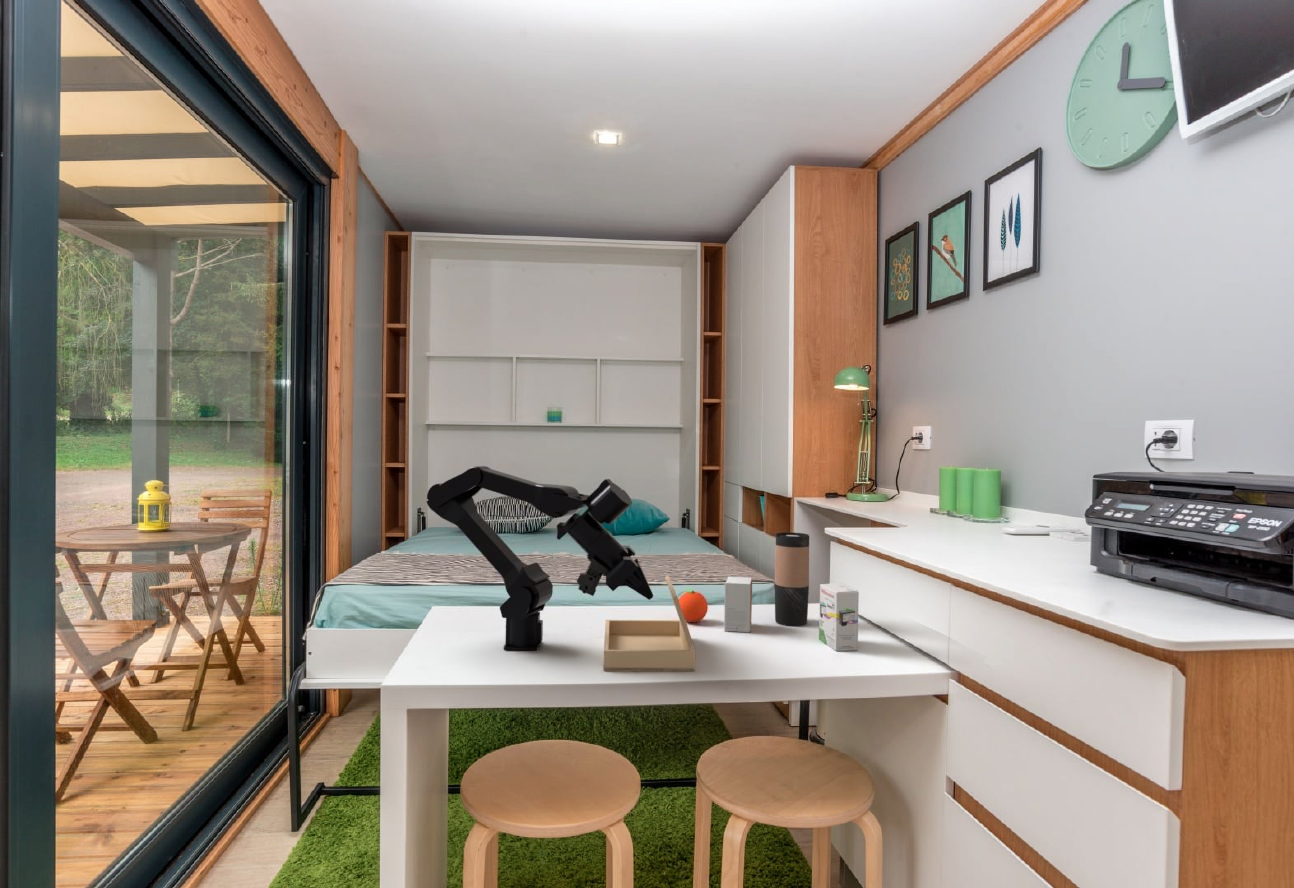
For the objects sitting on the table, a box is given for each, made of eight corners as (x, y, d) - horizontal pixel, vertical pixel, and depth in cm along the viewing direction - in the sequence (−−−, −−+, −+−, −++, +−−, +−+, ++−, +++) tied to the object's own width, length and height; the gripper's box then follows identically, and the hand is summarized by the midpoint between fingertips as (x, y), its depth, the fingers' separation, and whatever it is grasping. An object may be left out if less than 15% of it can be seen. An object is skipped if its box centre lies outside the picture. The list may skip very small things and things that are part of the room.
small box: (750, 633, 149) (750, 583, 149) (723, 631, 150) (724, 582, 150) (751, 624, 157) (752, 577, 157) (726, 622, 158) (727, 575, 158)
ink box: (817, 639, 145) (818, 582, 145) (840, 638, 146) (841, 582, 146) (835, 651, 137) (836, 591, 137) (859, 650, 137) (860, 590, 137)
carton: (603, 670, 122) (603, 650, 122) (605, 636, 144) (605, 619, 144) (694, 671, 123) (694, 651, 123) (682, 637, 145) (682, 620, 145)
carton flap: (689, 645, 124) (672, 597, 124) (679, 618, 144) (664, 576, 144) (693, 643, 124) (676, 595, 124) (682, 616, 144) (668, 575, 144)
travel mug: (812, 621, 160) (814, 534, 160) (801, 628, 154) (803, 537, 154) (781, 616, 164) (782, 531, 164) (768, 623, 158) (770, 534, 158)
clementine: (666, 621, 158) (667, 589, 158) (685, 615, 163) (685, 585, 163) (695, 627, 153) (696, 595, 153) (713, 621, 158) (714, 590, 158)
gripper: (567, 561, 142) (620, 615, 142) (560, 578, 123) (621, 641, 124) (606, 522, 142) (660, 577, 143) (605, 534, 124) (666, 596, 124)
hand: (651, 597), depth 133 cm, fingers closed
